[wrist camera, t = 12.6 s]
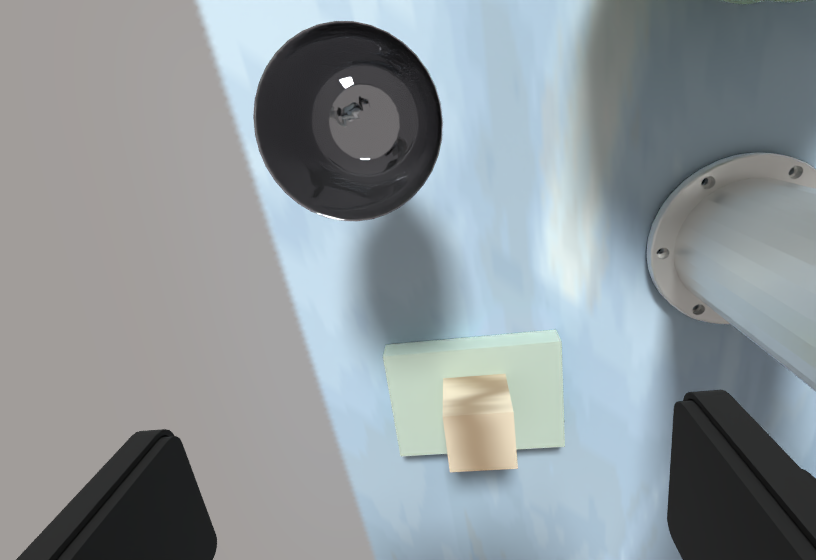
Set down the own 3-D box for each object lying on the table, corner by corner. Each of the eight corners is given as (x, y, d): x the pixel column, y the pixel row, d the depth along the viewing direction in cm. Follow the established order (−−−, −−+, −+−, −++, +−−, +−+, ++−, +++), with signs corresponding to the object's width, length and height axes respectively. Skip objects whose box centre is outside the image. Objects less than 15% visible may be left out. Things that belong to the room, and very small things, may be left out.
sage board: (555, 329, 39) (561, 341, 37) (559, 431, 42) (564, 446, 40) (385, 344, 40) (382, 356, 38) (402, 441, 44) (400, 456, 42)
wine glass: (467, 102, 33) (483, 105, 19) (400, 194, 36) (371, 256, 22) (373, 28, 32) (317, -28, 18) (312, 128, 34) (219, 148, 20)
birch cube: (505, 373, 38) (513, 411, 33) (509, 425, 40) (517, 468, 35) (443, 378, 39) (442, 416, 34) (449, 429, 40) (449, 472, 36)
